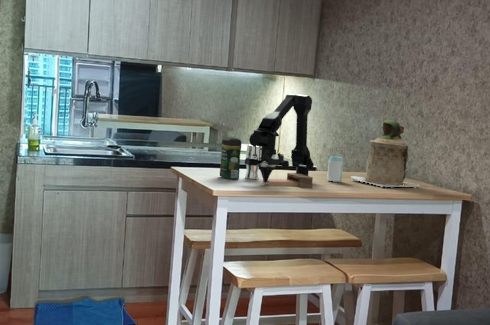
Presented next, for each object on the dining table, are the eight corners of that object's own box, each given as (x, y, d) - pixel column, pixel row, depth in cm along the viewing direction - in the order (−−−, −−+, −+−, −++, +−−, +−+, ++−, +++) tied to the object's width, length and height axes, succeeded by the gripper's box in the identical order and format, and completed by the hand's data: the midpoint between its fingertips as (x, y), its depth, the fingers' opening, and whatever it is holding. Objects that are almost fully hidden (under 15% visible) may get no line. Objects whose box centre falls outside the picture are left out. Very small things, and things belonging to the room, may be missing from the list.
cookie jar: (382, 188, 307) (389, 119, 304) (348, 180, 328) (354, 115, 325) (421, 188, 320) (428, 121, 317) (386, 180, 341) (392, 118, 338)
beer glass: (261, 179, 305) (264, 146, 304) (247, 178, 303) (249, 146, 302) (256, 177, 312) (259, 145, 310) (242, 176, 310) (244, 144, 308)
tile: (262, 183, 295) (263, 178, 295) (294, 184, 300) (294, 179, 300) (269, 186, 287) (269, 181, 287) (301, 187, 292) (301, 182, 292)
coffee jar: (217, 176, 304) (220, 135, 302) (233, 176, 307) (236, 136, 305) (224, 179, 295) (227, 137, 293) (241, 179, 298) (244, 138, 296)
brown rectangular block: (286, 182, 301) (287, 172, 300) (298, 182, 303) (299, 173, 303) (299, 187, 289) (300, 177, 288) (311, 187, 291) (312, 177, 291)
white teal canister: (324, 181, 318) (326, 156, 317) (331, 180, 324) (333, 155, 323) (337, 183, 314) (339, 157, 313) (344, 182, 320) (346, 157, 319)
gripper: (255, 147, 277) (252, 184, 279) (296, 149, 284) (292, 185, 286) (245, 144, 288) (242, 180, 289) (285, 146, 295) (281, 181, 296)
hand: (265, 182), depth 290 cm, fingers closed
